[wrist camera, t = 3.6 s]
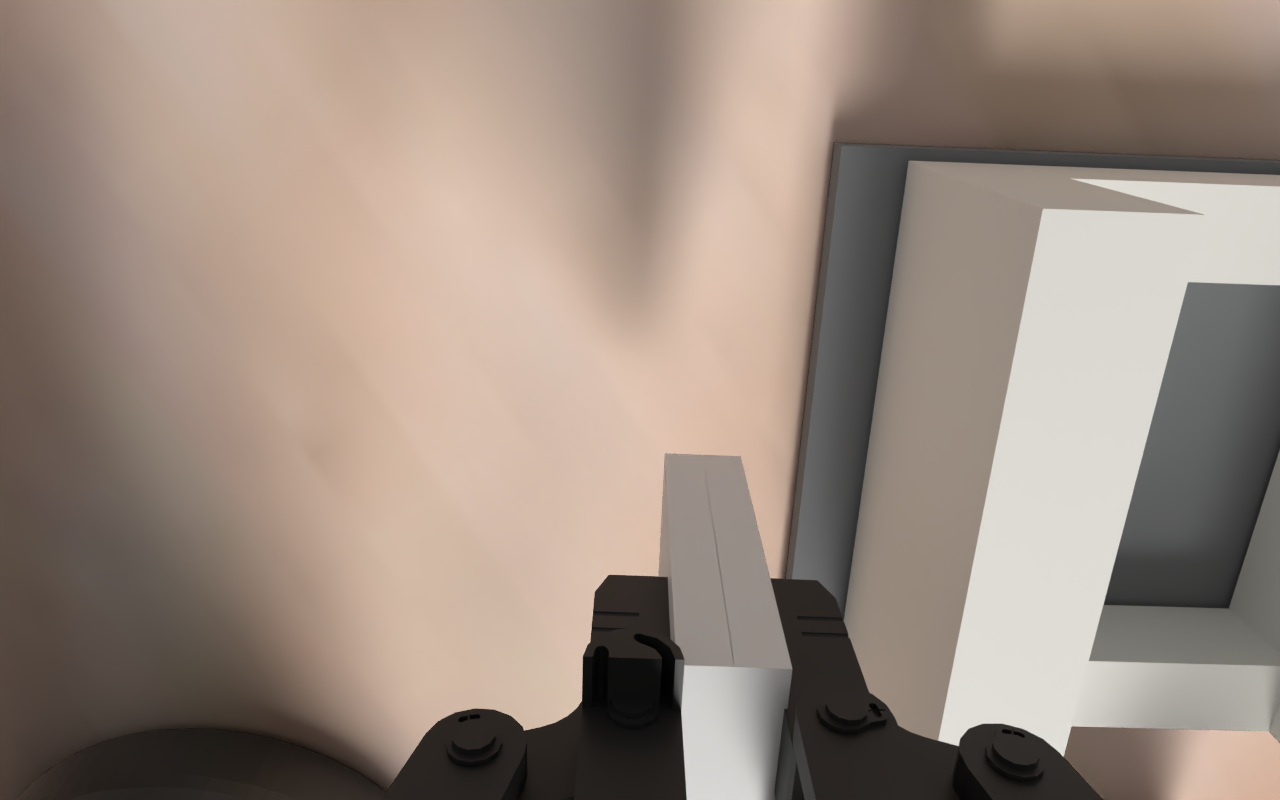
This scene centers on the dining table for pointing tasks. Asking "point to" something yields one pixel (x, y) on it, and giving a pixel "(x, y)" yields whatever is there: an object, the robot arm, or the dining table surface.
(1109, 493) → the frame block
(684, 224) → the dining table surface
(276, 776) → the robot arm
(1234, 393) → the board
